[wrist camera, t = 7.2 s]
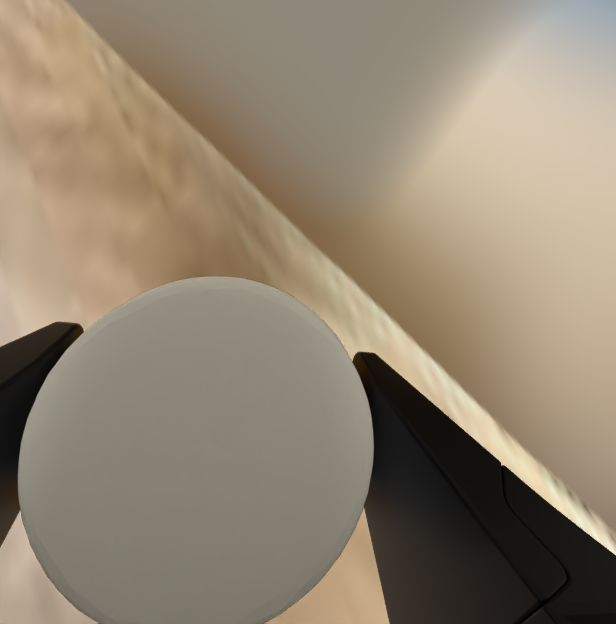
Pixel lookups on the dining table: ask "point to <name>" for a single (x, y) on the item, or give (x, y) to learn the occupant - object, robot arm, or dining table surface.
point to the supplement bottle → (196, 457)
